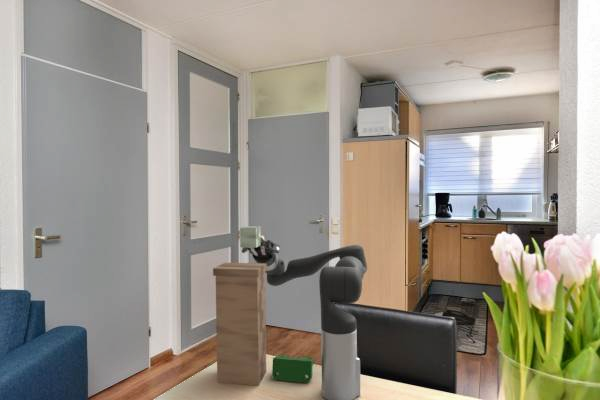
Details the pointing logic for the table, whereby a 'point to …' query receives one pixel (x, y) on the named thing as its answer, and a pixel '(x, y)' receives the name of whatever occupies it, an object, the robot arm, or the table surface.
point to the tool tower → (240, 322)
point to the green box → (292, 368)
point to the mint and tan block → (250, 236)
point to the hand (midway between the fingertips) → (253, 238)
